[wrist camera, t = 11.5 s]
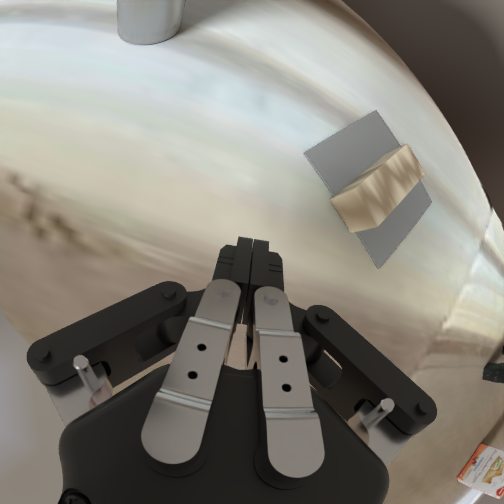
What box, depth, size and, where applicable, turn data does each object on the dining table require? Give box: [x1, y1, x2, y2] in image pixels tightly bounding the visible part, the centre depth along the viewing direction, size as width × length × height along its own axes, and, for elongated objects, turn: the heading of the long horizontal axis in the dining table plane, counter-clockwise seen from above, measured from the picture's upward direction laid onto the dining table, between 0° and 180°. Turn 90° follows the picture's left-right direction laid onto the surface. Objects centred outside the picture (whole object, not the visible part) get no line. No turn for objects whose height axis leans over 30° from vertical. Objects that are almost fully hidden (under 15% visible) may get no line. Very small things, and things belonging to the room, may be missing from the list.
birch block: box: [330, 144, 425, 233], centre depth 33 cm, size 5×5×14 cm
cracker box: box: [457, 444, 504, 499], centre depth 37 cm, size 14×6×21 cm, turn 130°
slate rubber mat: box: [304, 110, 432, 269], centre depth 37 cm, size 18×18×1 cm
